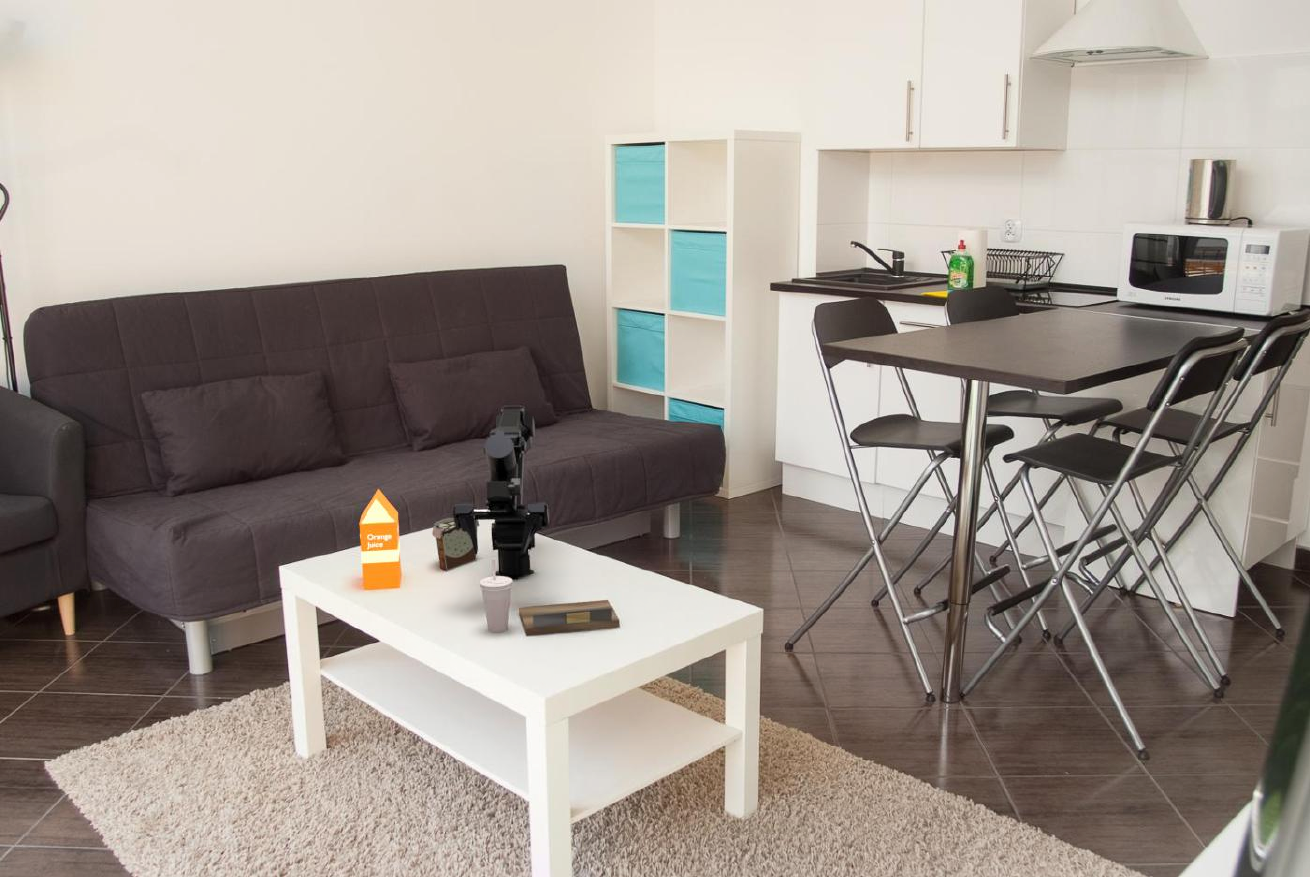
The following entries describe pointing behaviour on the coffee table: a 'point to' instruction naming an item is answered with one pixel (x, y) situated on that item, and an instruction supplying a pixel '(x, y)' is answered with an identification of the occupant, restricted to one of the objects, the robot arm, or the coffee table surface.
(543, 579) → the coffee table surface
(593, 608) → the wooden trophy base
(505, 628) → the smoothie
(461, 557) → the brown cake slice
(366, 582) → the orange juice
